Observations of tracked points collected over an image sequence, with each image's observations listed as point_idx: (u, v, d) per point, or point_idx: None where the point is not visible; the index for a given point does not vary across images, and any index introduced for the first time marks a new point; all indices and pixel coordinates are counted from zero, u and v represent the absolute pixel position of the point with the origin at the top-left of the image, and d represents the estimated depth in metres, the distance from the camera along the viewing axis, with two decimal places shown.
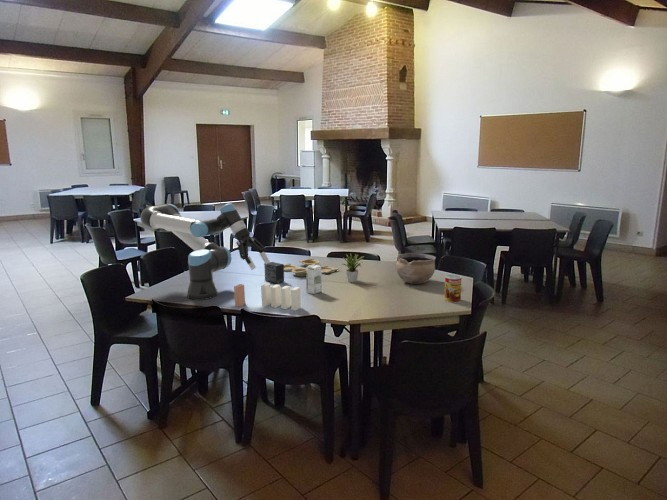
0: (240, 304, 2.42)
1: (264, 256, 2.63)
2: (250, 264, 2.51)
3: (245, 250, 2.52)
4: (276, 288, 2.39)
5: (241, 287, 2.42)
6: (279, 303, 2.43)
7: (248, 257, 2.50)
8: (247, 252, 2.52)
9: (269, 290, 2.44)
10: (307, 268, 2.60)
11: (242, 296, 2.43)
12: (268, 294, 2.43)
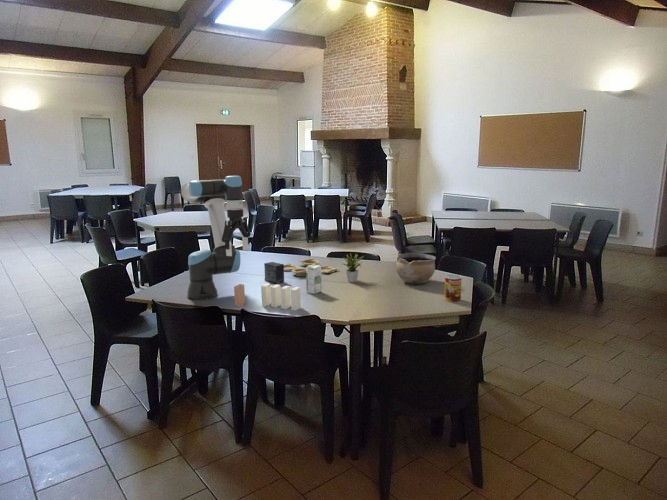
0: (240, 304, 2.42)
1: (245, 242, 2.43)
2: (227, 250, 2.32)
3: (230, 234, 2.31)
4: (276, 288, 2.39)
5: (241, 287, 2.42)
6: (279, 303, 2.43)
7: (229, 243, 2.31)
8: (231, 237, 2.31)
9: (269, 290, 2.44)
10: (307, 268, 2.60)
11: (242, 296, 2.43)
12: (268, 294, 2.43)
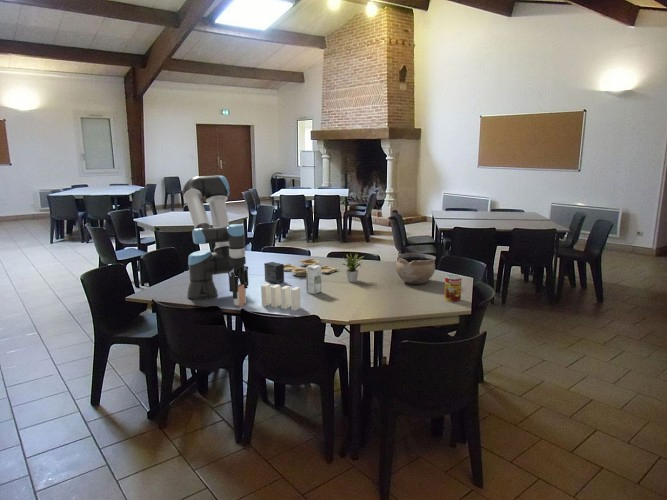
0: (240, 304, 2.42)
1: None
2: (235, 299, 2.40)
3: (235, 283, 2.38)
4: (276, 288, 2.39)
5: (241, 287, 2.42)
6: (279, 303, 2.43)
7: (237, 292, 2.39)
8: (237, 286, 2.39)
9: (269, 290, 2.44)
10: (307, 268, 2.60)
11: (242, 296, 2.43)
12: (268, 294, 2.43)
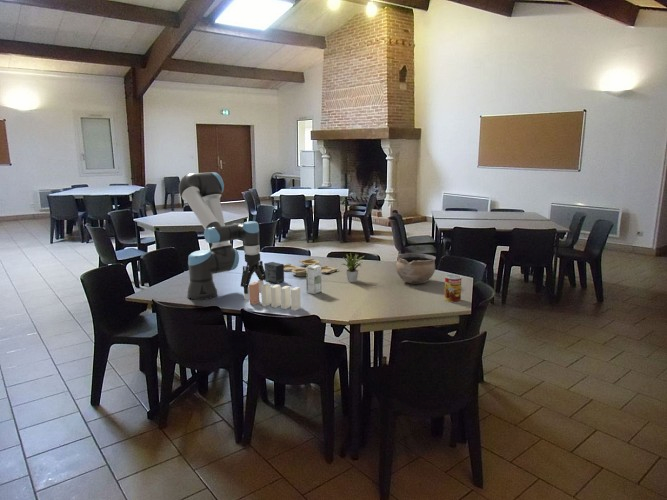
0: (255, 302, 2.46)
1: (261, 285, 2.51)
2: (246, 294, 2.41)
3: (248, 278, 2.39)
4: (276, 288, 2.39)
5: (256, 285, 2.45)
6: (279, 303, 2.43)
7: (247, 287, 2.39)
8: (249, 282, 2.39)
9: (269, 290, 2.44)
10: (307, 268, 2.60)
11: (257, 294, 2.47)
12: (268, 294, 2.43)
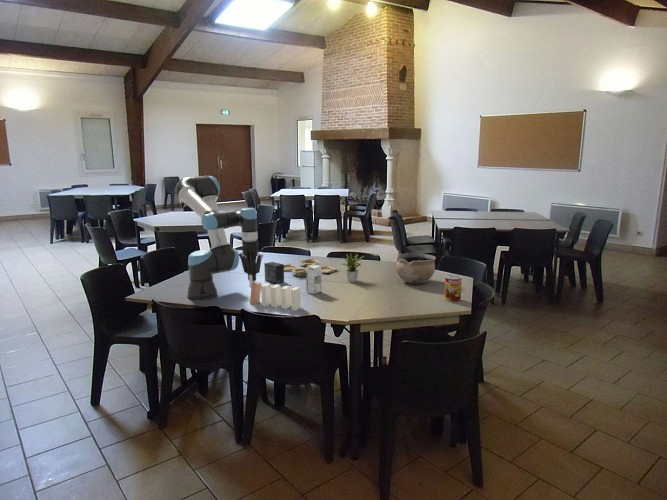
0: (255, 302, 2.46)
1: None
2: None
3: (247, 266, 2.44)
4: (276, 288, 2.39)
5: (258, 285, 2.45)
6: (279, 303, 2.43)
7: (249, 275, 2.44)
8: (248, 268, 2.43)
9: (269, 290, 2.44)
10: (307, 268, 2.60)
11: (258, 294, 2.46)
12: (268, 294, 2.43)
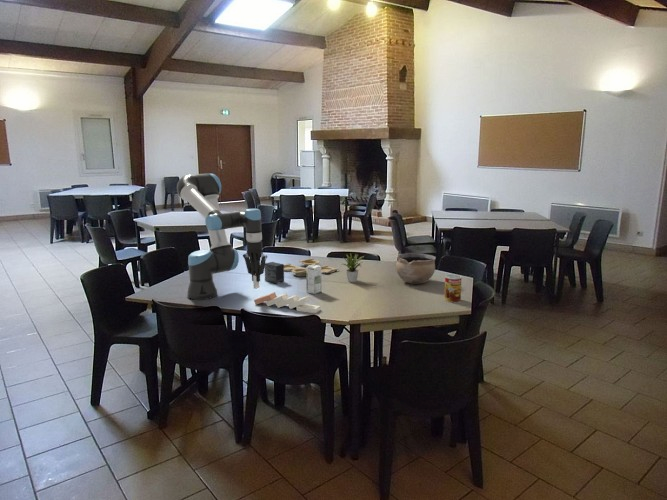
0: (258, 303, 2.45)
1: None
2: None
3: (251, 266, 2.43)
4: (294, 301, 2.36)
5: (272, 298, 2.42)
6: None
7: None
8: (252, 269, 2.43)
9: None
10: (307, 268, 2.60)
11: None
12: None
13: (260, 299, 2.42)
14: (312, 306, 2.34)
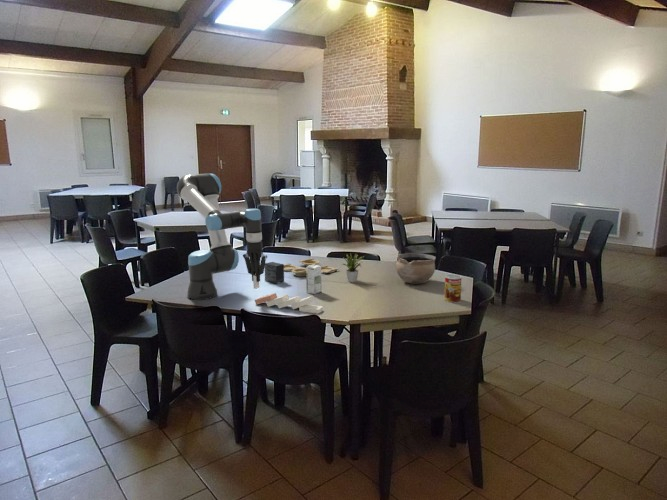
0: (258, 303, 2.45)
1: None
2: None
3: (251, 266, 2.43)
4: (295, 302, 2.35)
5: None
6: None
7: None
8: (252, 269, 2.43)
9: None
10: (307, 268, 2.60)
11: None
12: None
13: (260, 299, 2.42)
14: (315, 307, 2.34)
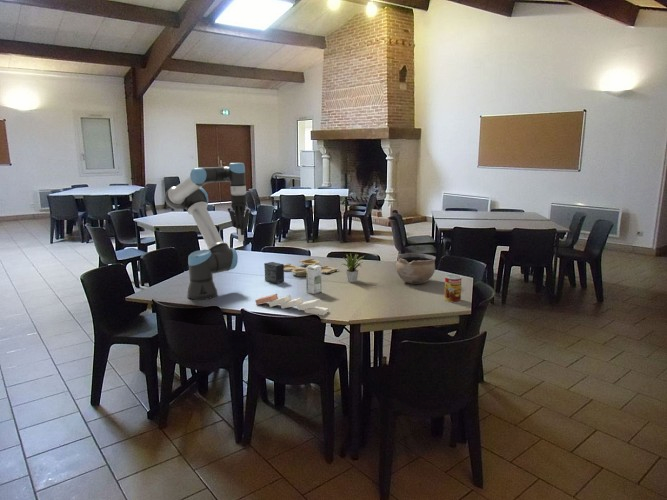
0: (259, 303, 2.45)
1: None
2: None
3: None
4: (297, 304, 2.34)
5: None
6: None
7: (238, 229, 2.49)
8: (236, 223, 2.48)
9: None
10: (307, 268, 2.60)
11: None
12: None
13: (261, 300, 2.42)
14: (320, 308, 2.32)
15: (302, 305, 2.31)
